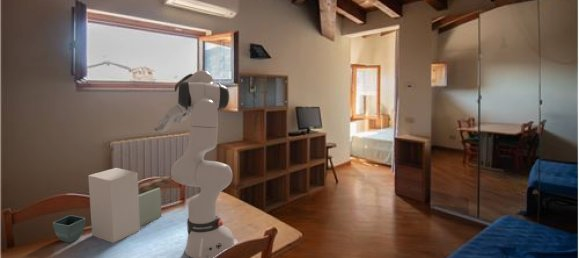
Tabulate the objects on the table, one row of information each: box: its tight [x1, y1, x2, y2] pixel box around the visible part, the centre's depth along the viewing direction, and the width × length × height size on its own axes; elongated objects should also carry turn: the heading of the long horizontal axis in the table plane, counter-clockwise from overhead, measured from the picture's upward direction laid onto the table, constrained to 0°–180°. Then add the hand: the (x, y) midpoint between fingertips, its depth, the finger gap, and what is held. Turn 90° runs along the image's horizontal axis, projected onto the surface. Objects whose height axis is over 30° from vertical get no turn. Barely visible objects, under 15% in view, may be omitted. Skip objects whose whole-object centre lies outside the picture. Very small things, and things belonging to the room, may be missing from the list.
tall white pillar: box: [87, 167, 141, 244], centre depth 160 cm, size 14×14×28 cm
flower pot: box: [52, 214, 86, 243], centre depth 155 cm, size 9×9×9 cm
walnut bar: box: [138, 175, 172, 194], centre depth 179 cm, size 22×4×3 cm, turn 153°
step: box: [139, 187, 162, 227], centre depth 175 cm, size 15×8×15 cm, turn 154°
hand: (156, 127), depth 179 cm, fingers open, 8 cm apart
